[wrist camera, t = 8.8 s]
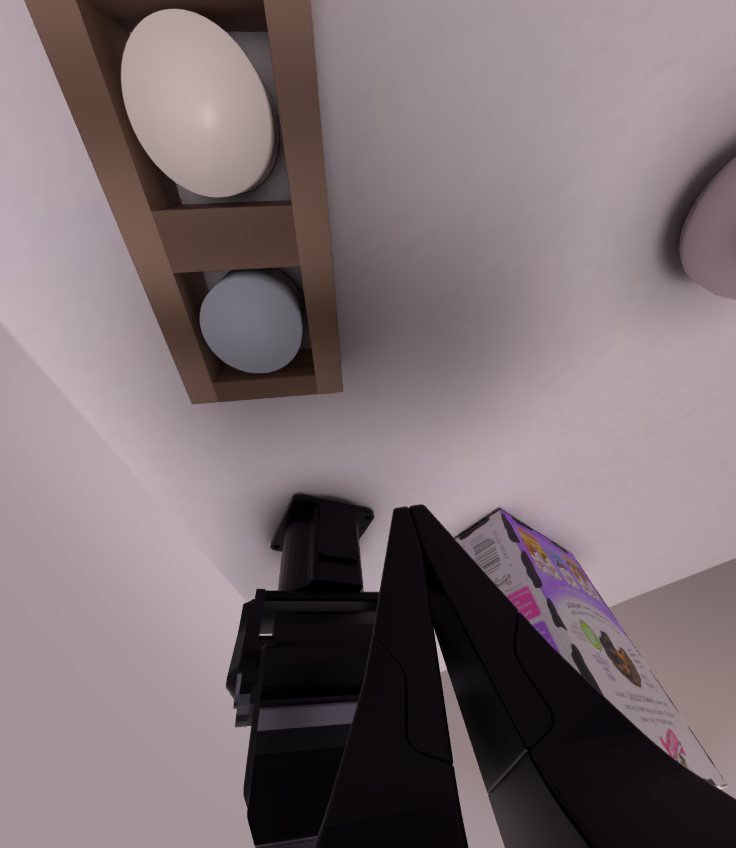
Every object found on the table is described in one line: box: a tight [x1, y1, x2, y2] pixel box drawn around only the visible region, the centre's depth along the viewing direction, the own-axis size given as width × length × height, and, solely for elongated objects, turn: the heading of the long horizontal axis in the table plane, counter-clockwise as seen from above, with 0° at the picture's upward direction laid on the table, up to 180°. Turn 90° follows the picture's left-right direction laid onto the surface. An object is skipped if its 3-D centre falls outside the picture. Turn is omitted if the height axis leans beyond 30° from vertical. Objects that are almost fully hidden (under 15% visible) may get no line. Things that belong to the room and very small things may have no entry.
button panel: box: [24, 0, 343, 404], centre depth 11 cm, size 20×7×3 cm, turn 2°
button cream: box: [121, 9, 279, 197], centre depth 11 cm, size 4×4×2 cm
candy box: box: [455, 510, 728, 789], centre depth 25 cm, size 14×6×16 cm, turn 49°
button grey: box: [200, 268, 304, 373], centre depth 15 cm, size 4×4×2 cm
